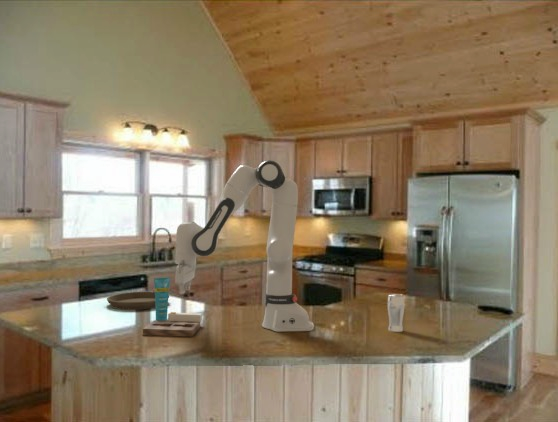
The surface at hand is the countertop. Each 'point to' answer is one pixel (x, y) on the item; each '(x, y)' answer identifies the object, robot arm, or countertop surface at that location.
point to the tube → (161, 297)
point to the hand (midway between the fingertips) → (184, 291)
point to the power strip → (185, 317)
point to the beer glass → (395, 312)
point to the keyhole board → (171, 328)
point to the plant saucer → (133, 300)
